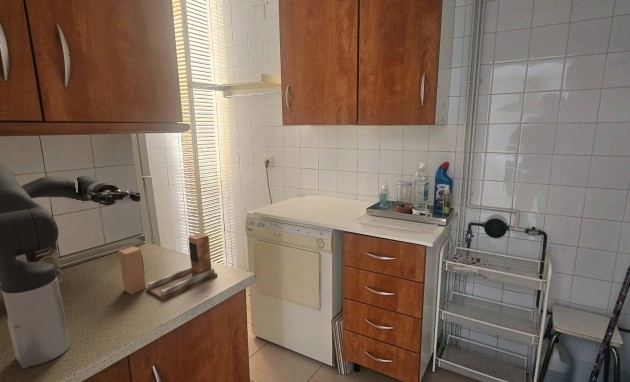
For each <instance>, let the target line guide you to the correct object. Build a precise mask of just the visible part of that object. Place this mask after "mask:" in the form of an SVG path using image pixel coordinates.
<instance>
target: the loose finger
mask: <svg viewBox="0 0 630 382" xmlns="http://www.w3.org/2000/svg"><path fill="white" fill-rule="evenodd" d="M118 256H119V263H120V264H119V265H120V270H121V277H122V284H123V290H124V291H125V292H127V293H128V294H130V295H133V294H135V293H138V292H140V291H142V290H146V288H147V287H146V279H145V268H144V267H145V265H144V259H143V254H142V250H141V249H140V248H138V247H136V246H134V245H133V246H129V247H127V248H123V249H119V250H118Z"/></svg>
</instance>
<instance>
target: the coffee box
mask: <svg viewBox="0 0 630 382" xmlns="http://www.w3.org/2000/svg"><path fill="white" fill-rule="evenodd" d="M58 253H59V252H58V247H57V242H56V243H55V244H54V245H52V246H51V247H49V248H46V249H43V250H39V251H35V252H31V253H27V254H23V255H19V256H16V259H17V260H20V261H25V262H46V263H50V264H53V265H54V266H55V268H56V273H57V278H58V283H59V285H60V284H62V283H64V280H63V275H62V267H61V264H60V258H59V254H58Z"/></svg>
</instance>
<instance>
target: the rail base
mask: <svg viewBox="0 0 630 382" xmlns="http://www.w3.org/2000/svg"><path fill="white" fill-rule="evenodd" d="M188 247H189V249H188V250H189V258H190V265H191V266H189V267H186V268H184V269H181V270H178V271H176V272H173V273H170V274H168V275H166V276H163V277H160V278H159V279H156V280H153V281H150V282H148V283H147V285H148V286H147V287H146V288H145V291H146V292H147V293H150V294H151V295H153V296H154V297H156V298H158V299H160V300H161V301H162V302H164V301H167V300H168V299H170V298H172V297H175V296H178V295H179V294H182V293H184V292H186V291H188V290H191V289H192V288H195V287H198V286H199V285H201V284H203V283H206V282H208V281H210V280H212V279H215V278H216V277H218V273H217V272H215V269H214V268H212V262H211V261H212V260H211V250H210V249H211V248H210V237H209V234H205V233H203V232H199V233H195V234H193V235H189V236H188Z"/></svg>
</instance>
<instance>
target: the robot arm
mask: <svg viewBox="0 0 630 382" xmlns="http://www.w3.org/2000/svg"><path fill="white" fill-rule="evenodd" d="M91 176H92V175H90V176H81V177H78V178H77V181H78V193H77V192H76V188H75V183H74V180H73V179H71V178H69V177H61V176H44V177H38V178H37V179H34V180H32V181H30V182H27V183H24V184H22V185H20V183H19V182H18V180H17V179H16V177H15V174H14V171H13V170H11V168H9V167H8V166H6V165H4V164H2V163H0V288H1V293H2V297H3V301H4V306H5V309H6V314H7V320H6V322H7V327H8V332H9V335H10V340H11V343H12V347H13V352H14V357H15V360H16V361H17V362H18V364H19V366H20V367H21V369H23V370H25V369H27V368H29V367H33V366H38V365H42V364H45V363H48V362H50V361H52V360H54V359H56V358H57V357H59V356H61V355H62V354H64V353H65V352H66V351H67V350H68V349H69V347H70V345H71V341H70V334H69V330H68V325H67V319H66V315H65V310H64V305H63V304H64V303H63V300H62V294H61V289H60V284H59V283H58V278H57V273H56V268H55V266H54V265H53V264H50V263H46V262H25V261H20V260H17V259H16V256H19V255H23V254H27V253H31V252H35V251H39V250H43V249H46V248H49V247H51V246H52V245H54V244H55V243H56V244H57V241H58V238H59V228H58V224H57V222H56V219H55V218H54V216H53V215H52V213H50V211H49V210H48V209H46V208H45V207H44V206H42V205H40V204H39V203H38V202H36V201H35V200H33V199H36V198H37V199H38V198H39V199H40V198H65V199H66V198H67V199H70V198H71V199H70V200H73V199H76V200H81V201H89V200H90V201H89V202H93V203H96V204H99V205H103V206H112V205H114V204H116V203H118V202H126V203H127V202H129V201H131V202H137V203H138V202H141V193H140V192H137V191H132V190H129V191H125V190H120V189H119V188H118V187H117V186H116V185H115V184H112V183H108V182H104V181H103V182H102V181H99V180H98V179H97V178H96V177H95V176H93V177H91ZM76 200H75V201H76Z"/></svg>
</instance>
